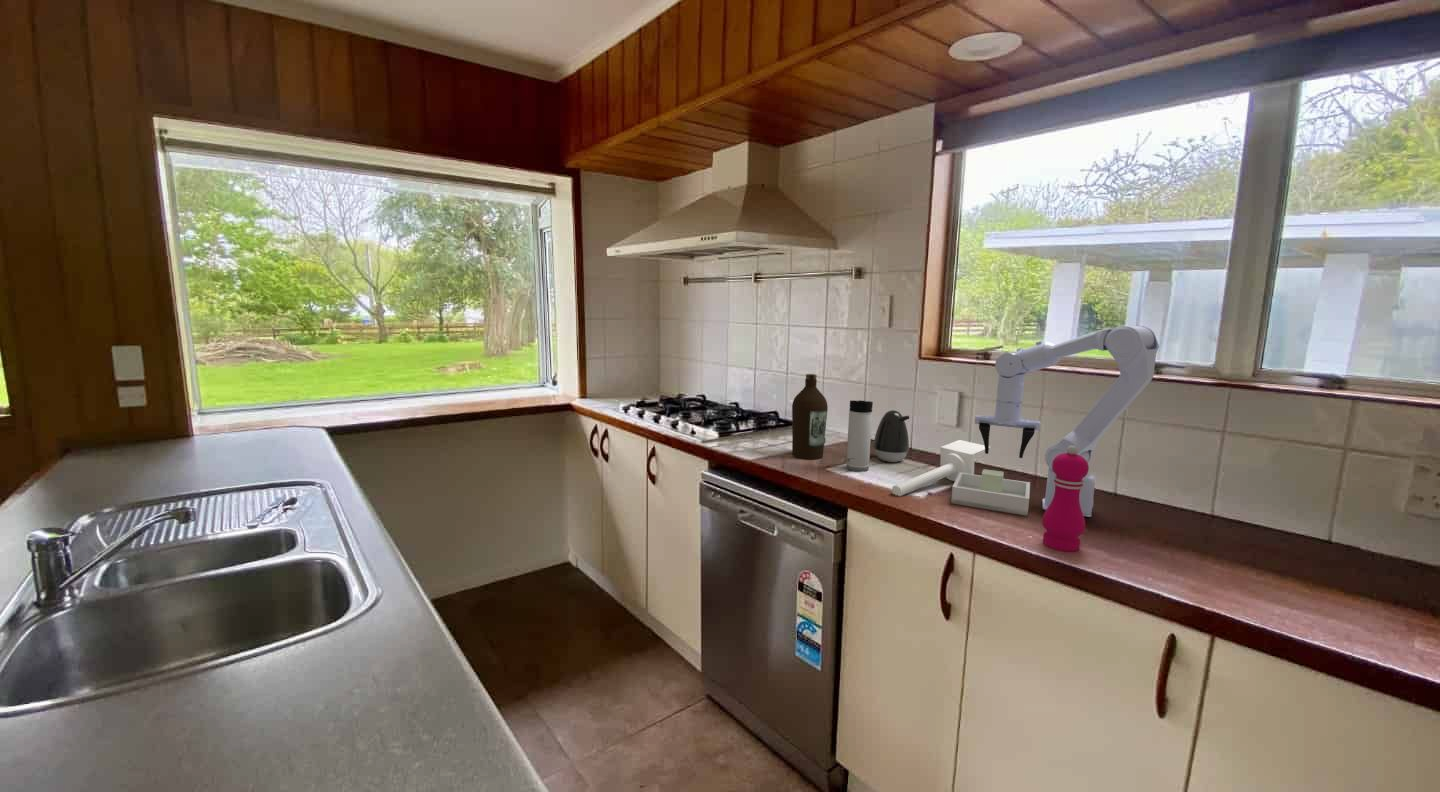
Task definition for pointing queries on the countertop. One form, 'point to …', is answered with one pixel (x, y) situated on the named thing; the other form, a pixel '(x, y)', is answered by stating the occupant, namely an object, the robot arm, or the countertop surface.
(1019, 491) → the grey bin
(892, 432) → the pump dispenser
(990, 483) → the sage block
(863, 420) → the travel mug
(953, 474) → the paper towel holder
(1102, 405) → the robot arm
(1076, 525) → the pepper mill
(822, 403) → the olive oil
